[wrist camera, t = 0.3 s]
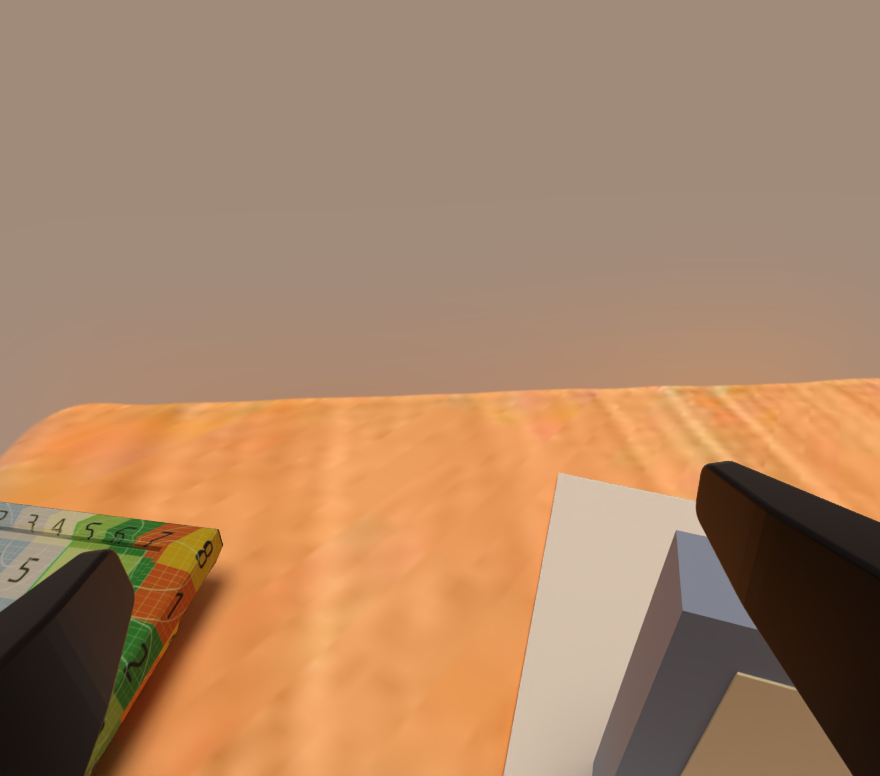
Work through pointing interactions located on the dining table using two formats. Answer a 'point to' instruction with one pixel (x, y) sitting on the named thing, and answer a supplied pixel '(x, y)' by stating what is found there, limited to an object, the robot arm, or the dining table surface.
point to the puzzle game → (147, 565)
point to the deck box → (707, 687)
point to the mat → (588, 618)
